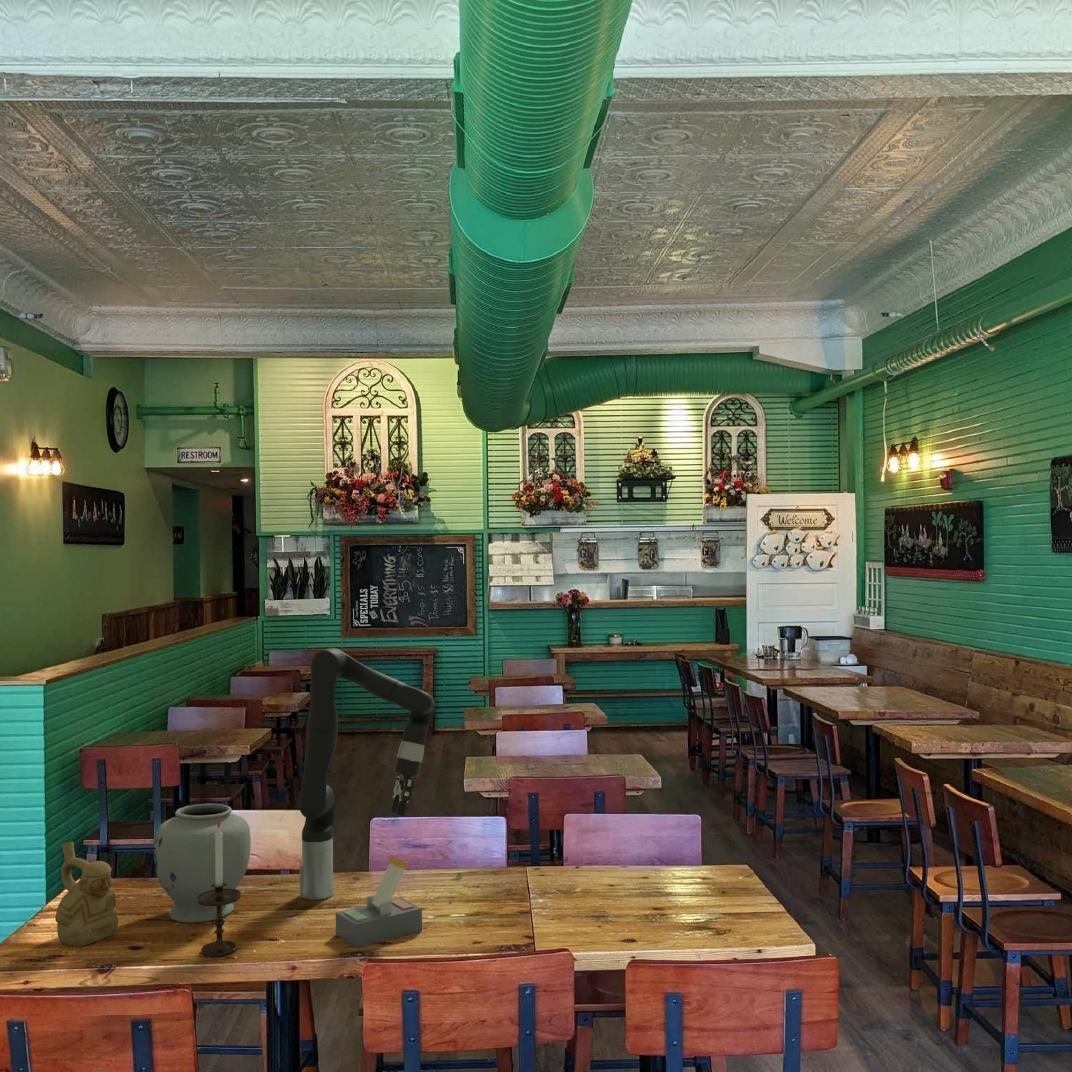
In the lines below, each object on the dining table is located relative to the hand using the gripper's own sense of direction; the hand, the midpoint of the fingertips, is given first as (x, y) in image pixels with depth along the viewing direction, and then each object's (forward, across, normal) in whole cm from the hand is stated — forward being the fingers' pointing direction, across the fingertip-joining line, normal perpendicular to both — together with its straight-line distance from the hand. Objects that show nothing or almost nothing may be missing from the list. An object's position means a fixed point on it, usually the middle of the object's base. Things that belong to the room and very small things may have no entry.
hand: (397, 814), depth 293 cm
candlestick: (+42, +10, -41) cm, 59 cm away
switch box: (+31, +13, -1) cm, 34 cm away
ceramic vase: (+38, -22, -45) cm, 63 cm away
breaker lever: (+24, +14, -2) cm, 28 cm away
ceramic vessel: (+48, -13, -74) cm, 89 cm away
